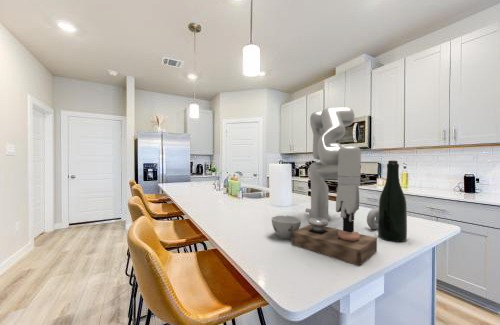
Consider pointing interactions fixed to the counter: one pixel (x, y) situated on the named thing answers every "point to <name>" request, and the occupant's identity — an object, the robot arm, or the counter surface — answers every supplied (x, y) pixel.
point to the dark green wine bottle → (392, 207)
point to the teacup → (285, 225)
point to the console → (335, 244)
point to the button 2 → (348, 236)
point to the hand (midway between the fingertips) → (348, 231)
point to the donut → (373, 218)
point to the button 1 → (318, 225)
